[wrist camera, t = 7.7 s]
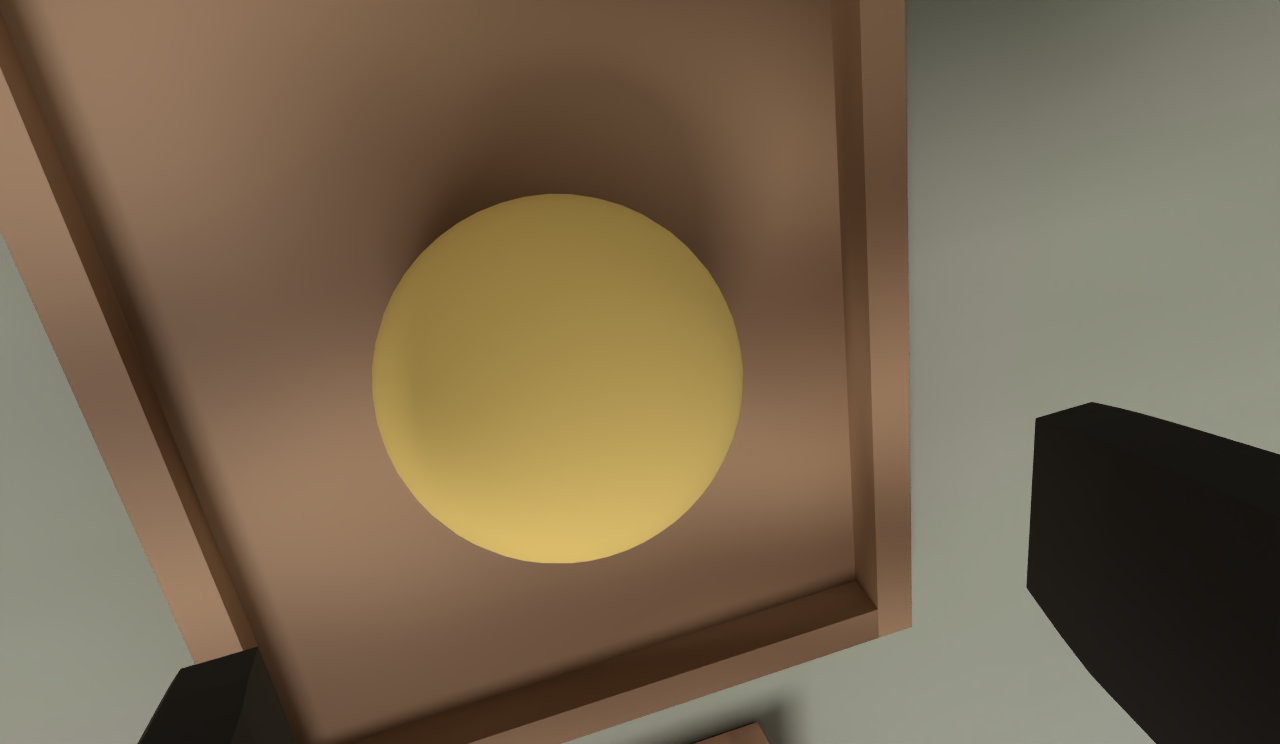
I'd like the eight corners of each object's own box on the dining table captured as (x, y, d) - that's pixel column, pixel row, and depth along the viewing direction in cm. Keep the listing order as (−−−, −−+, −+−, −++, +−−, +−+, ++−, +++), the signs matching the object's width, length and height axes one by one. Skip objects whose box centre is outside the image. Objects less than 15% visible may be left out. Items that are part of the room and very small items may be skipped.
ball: (679, 413, 17) (811, 577, 13) (392, 485, 16) (440, 691, 12) (655, 129, 15) (804, 222, 11) (321, 189, 14) (351, 317, 10)
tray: (873, 579, 21) (912, 626, 20) (274, 772, 19) (274, 839, 17) (843, -368, 14) (901, -392, 12) (-164, -249, 11) (-221, -263, 10)
